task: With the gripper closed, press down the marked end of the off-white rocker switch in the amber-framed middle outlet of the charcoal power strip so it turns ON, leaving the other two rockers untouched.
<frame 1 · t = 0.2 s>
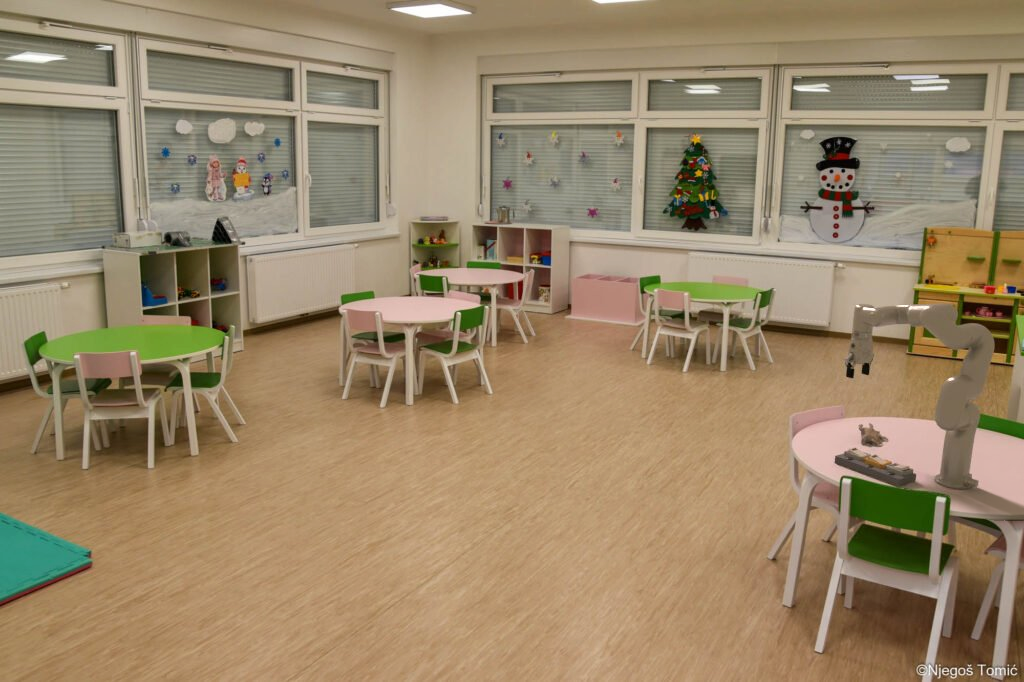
hand: (857, 376, 341), 31 cm above the table, fingers open, 9 cm apart
rocker middle: (878, 460, 321), point 5 cm above the table, hinge at -14.0°
power strip: (873, 472, 321), on the table
rocker 2: (899, 467, 314), point 5 cm above the table, hinge at 14.0°
rocker 1: (857, 452, 329), point 5 cm above the table, hinge at -14.0°
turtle: (872, 441, 356), on the table
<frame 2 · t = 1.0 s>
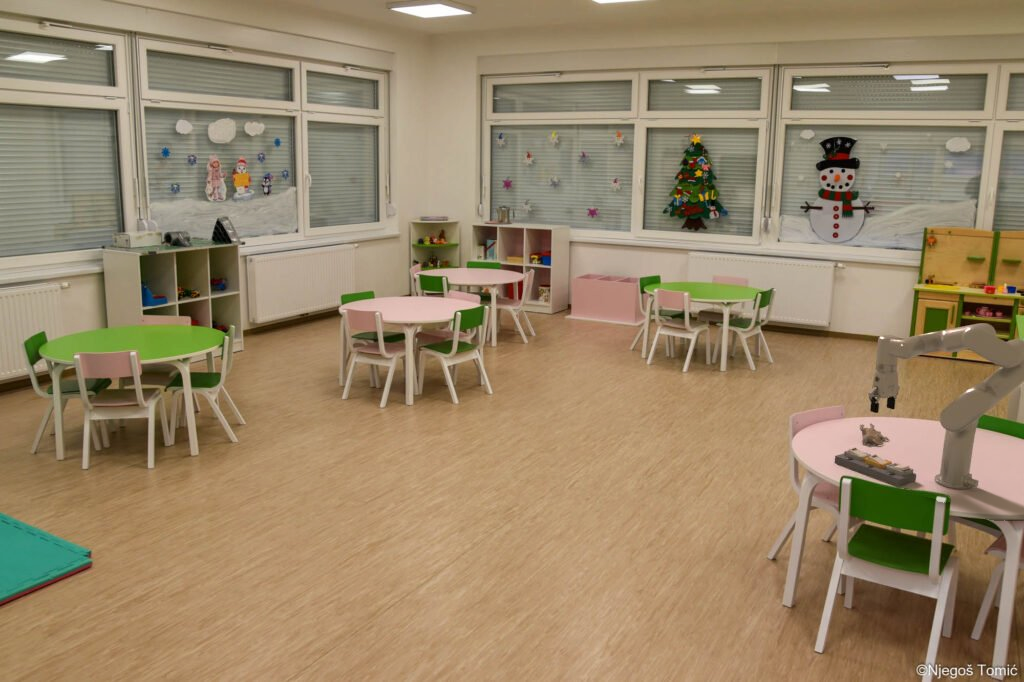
hand: (882, 410, 326), 22 cm above the table, fingers open, 9 cm apart
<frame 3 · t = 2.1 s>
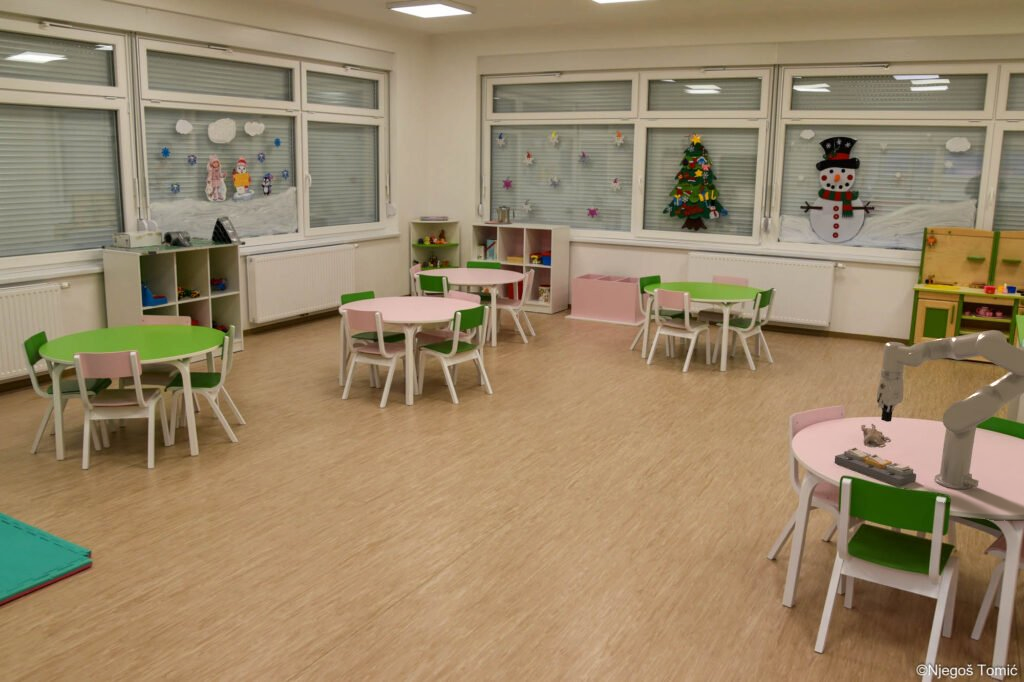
hand: (886, 420, 323), 19 cm above the table, fingers closed
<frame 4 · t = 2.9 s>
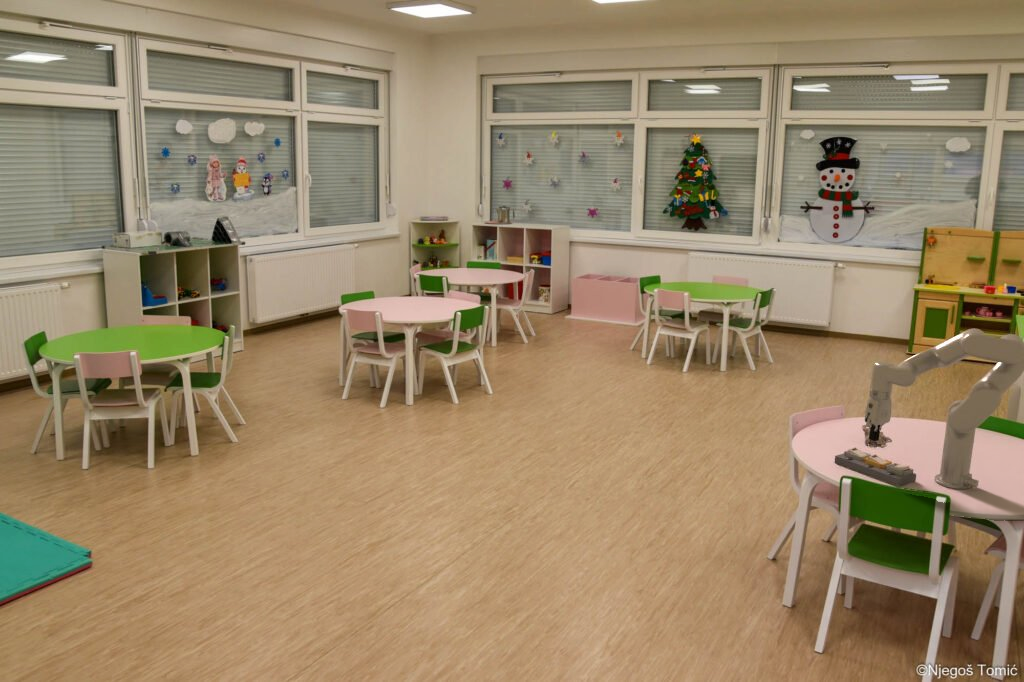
hand: (873, 439, 321), 12 cm above the table, fingers closed
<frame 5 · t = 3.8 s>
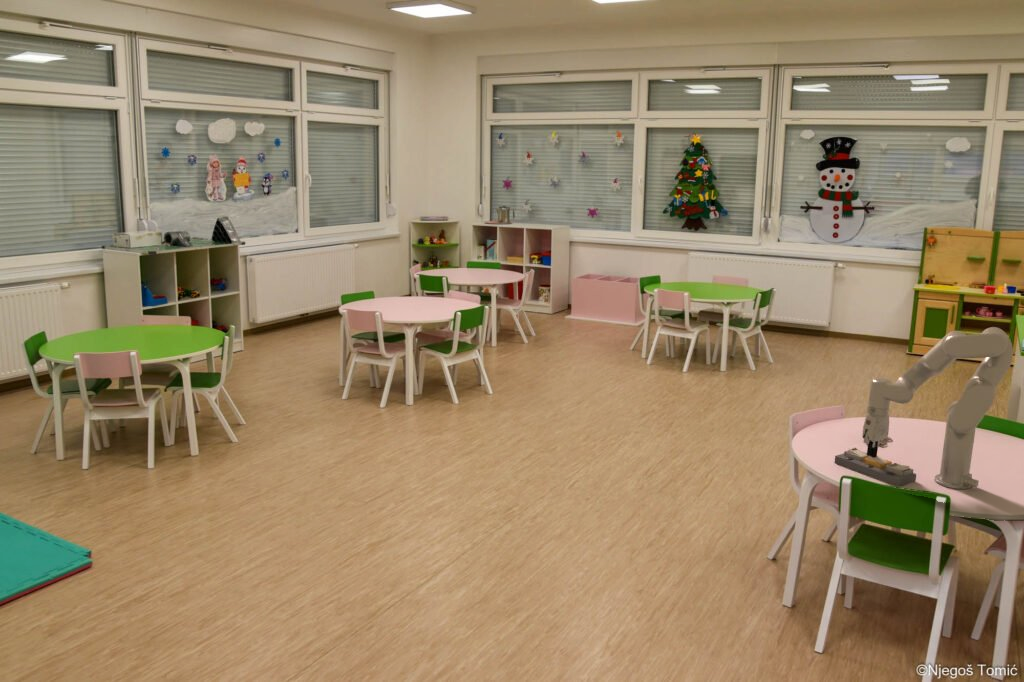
hand: (871, 455, 323), 5 cm above the table, fingers closed
rocker middle: (878, 460, 321), point 5 cm above the table, hinge at -12.7°, touching gripper
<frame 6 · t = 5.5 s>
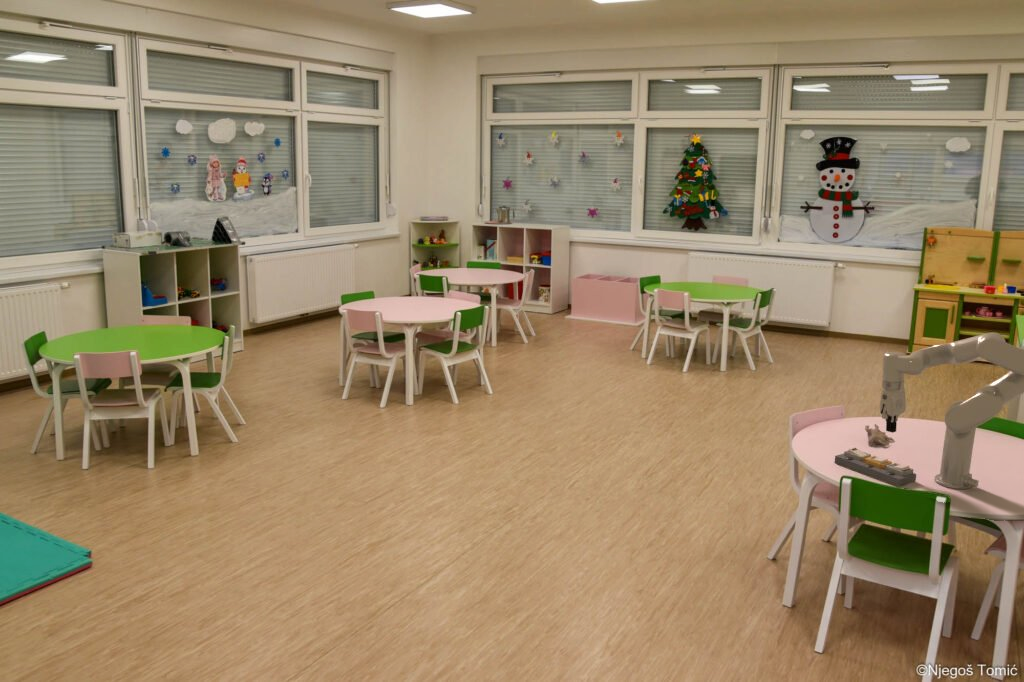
hand: (891, 431, 320), 16 cm above the table, fingers closed
rocker middle: (878, 460, 321), point 5 cm above the table, hinge at 8.5°
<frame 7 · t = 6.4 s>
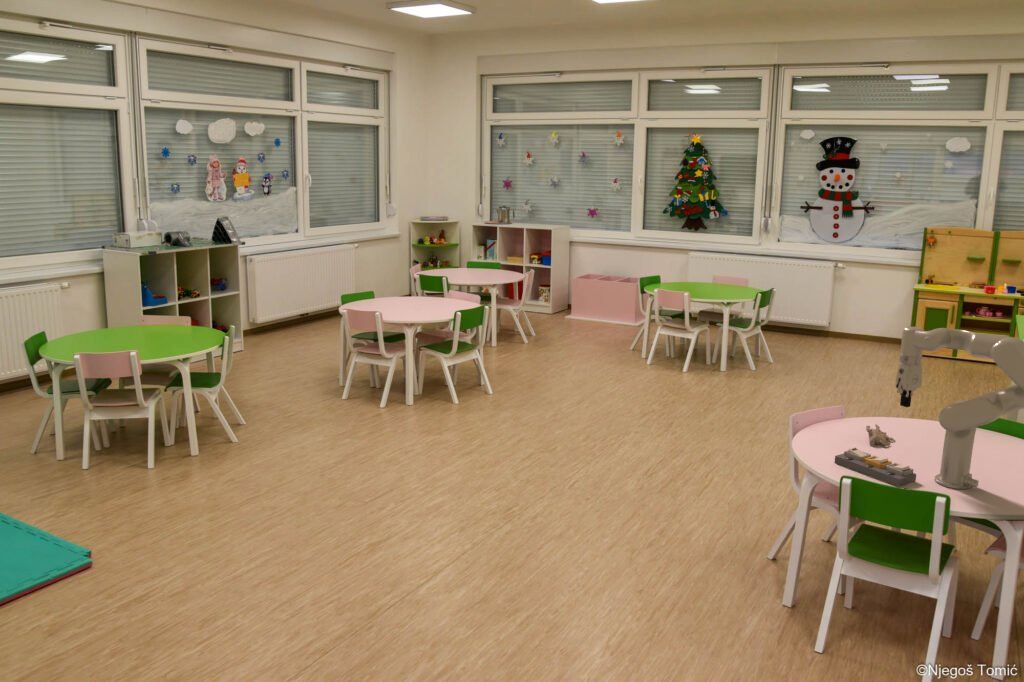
hand: (905, 406, 320), 25 cm above the table, fingers closed
rocker middle: (878, 460, 321), point 5 cm above the table, hinge at 14.6°
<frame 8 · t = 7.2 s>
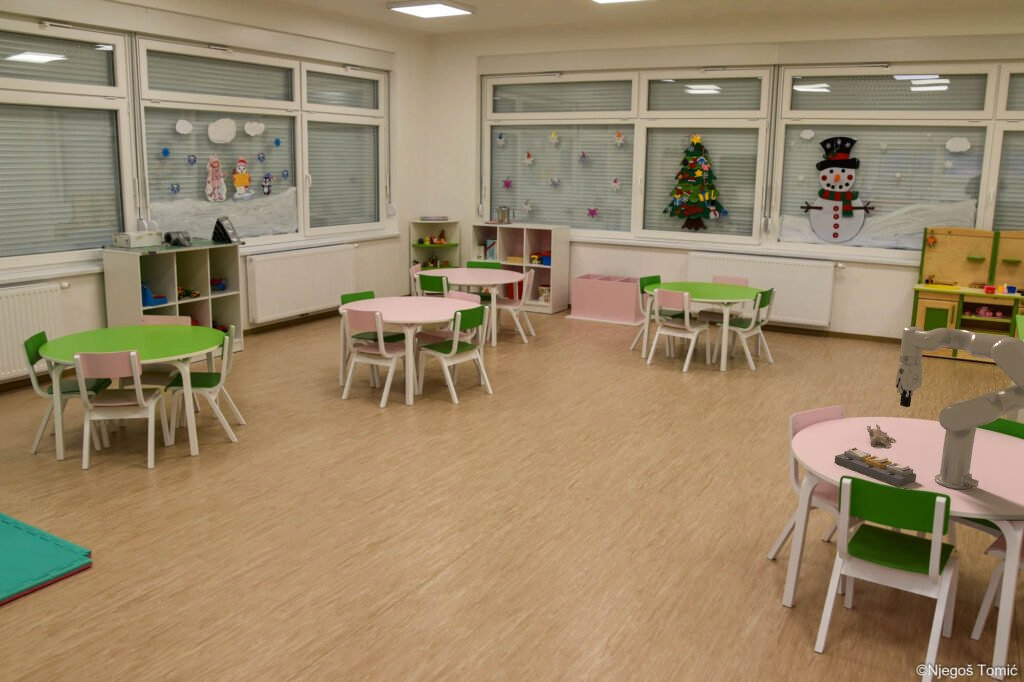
hand: (905, 406, 320), 25 cm above the table, fingers closed
rocker middle: (878, 460, 321), point 5 cm above the table, hinge at 18.6°
at the end: rocker middle at +19° (first picture: -14°); rocker 2 at +14° (first picture: +14°); rocker 1 at -14° (first picture: -14°) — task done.
